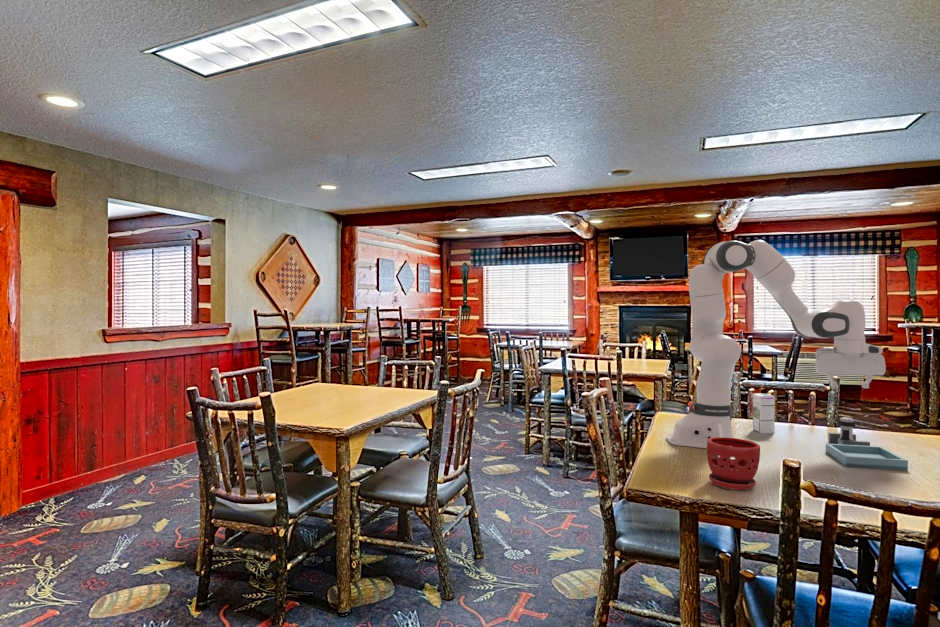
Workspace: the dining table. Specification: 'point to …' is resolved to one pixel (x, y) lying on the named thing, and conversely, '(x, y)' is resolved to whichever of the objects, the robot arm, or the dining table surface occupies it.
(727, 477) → the plant pot
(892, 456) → the tray
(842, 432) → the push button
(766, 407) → the syrup box
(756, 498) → the dining table surface
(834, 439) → the clip holder
